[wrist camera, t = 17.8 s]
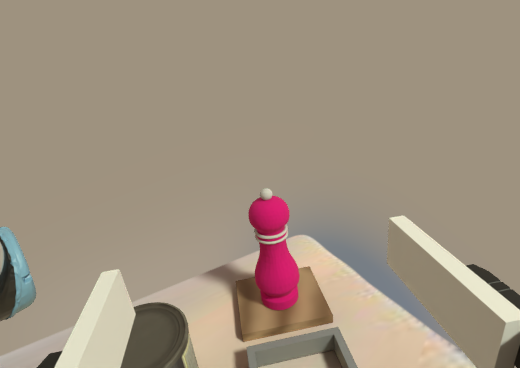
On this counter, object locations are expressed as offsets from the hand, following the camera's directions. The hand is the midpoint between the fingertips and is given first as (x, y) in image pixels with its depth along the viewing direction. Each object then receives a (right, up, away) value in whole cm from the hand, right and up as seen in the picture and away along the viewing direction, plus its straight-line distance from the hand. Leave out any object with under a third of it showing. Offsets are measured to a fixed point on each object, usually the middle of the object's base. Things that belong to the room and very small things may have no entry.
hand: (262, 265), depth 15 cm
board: (+3, -16, +37) cm, 41 cm away
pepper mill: (+3, -15, +37) cm, 40 cm away
